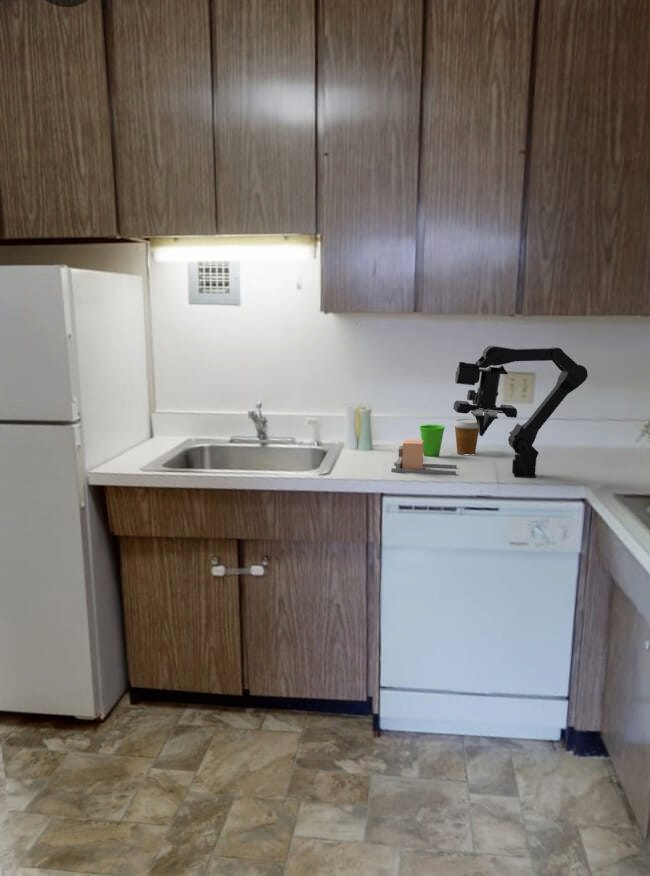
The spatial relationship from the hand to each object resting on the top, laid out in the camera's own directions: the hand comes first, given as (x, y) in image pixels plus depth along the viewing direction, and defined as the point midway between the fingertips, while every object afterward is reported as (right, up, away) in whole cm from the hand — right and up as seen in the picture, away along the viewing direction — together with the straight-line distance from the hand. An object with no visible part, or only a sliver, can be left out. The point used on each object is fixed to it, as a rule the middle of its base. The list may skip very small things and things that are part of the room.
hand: (480, 435), depth 210 cm
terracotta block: (-21, -11, +4) cm, 24 cm away
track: (-17, -12, +4) cm, 21 cm away
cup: (-12, -8, +26) cm, 29 cm away
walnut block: (-21, -9, +20) cm, 30 cm away
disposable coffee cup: (+2, -6, +32) cm, 33 cm away
